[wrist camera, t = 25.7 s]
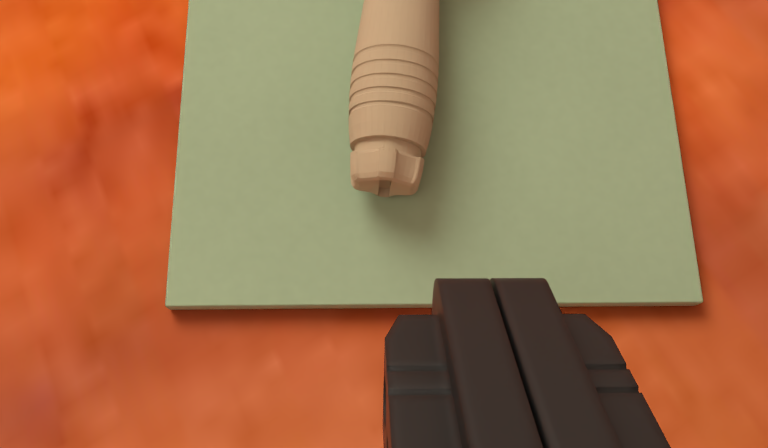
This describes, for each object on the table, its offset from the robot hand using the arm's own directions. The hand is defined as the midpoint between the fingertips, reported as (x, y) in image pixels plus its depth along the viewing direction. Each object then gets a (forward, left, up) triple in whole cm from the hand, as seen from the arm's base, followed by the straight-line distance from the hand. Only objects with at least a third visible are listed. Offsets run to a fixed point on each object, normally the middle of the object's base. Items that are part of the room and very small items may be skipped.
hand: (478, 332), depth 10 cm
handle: (0, -9, -19) cm, 21 cm away
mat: (-2, -14, -22) cm, 26 cm away
